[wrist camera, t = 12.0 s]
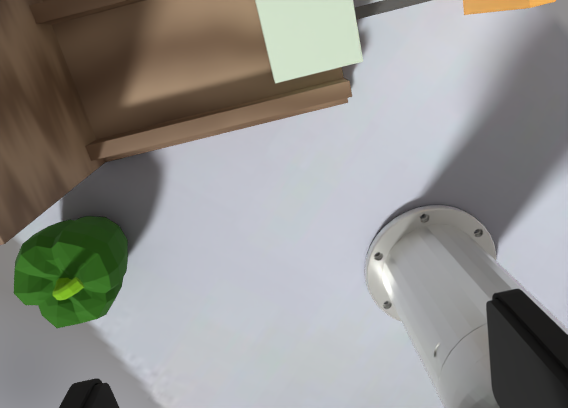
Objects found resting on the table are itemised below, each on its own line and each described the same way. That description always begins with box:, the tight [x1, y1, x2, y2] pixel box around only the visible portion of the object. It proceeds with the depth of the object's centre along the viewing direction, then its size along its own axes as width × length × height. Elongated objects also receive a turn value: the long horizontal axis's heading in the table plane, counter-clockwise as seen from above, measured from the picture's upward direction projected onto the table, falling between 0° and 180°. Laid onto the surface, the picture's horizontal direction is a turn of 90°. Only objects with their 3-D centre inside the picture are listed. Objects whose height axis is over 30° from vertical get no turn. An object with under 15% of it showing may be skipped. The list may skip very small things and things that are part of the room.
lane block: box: [255, 0, 556, 83], centre depth 30 cm, size 6×17×10 cm, turn 103°
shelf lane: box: [0, 0, 352, 245], centre depth 29 cm, size 13×22×18 cm, turn 103°
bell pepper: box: [14, 216, 128, 328], centre depth 38 cm, size 8×8×10 cm
